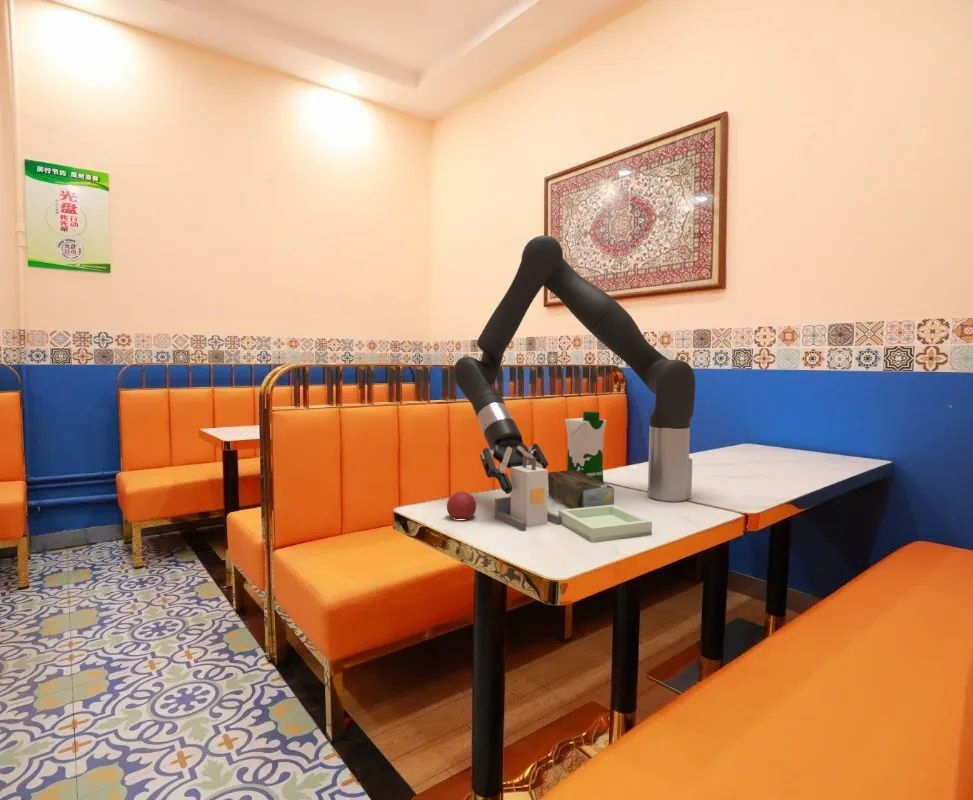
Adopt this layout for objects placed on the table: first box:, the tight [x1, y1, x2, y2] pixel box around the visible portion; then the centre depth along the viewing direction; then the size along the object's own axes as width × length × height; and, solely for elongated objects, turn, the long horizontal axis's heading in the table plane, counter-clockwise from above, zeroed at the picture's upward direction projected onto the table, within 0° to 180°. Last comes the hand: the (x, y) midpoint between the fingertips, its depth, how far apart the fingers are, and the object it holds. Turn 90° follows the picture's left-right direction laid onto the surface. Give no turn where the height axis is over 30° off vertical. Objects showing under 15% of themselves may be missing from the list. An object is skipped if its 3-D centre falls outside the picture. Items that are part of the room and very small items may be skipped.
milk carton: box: [564, 411, 608, 483], centre depth 139 cm, size 9×9×20 cm
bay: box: [494, 495, 561, 532], centre depth 110 cm, size 9×10×4 cm
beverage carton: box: [548, 470, 615, 509], centre depth 123 cm, size 8×19×7 cm, turn 17°
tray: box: [557, 504, 653, 543], centre depth 105 cm, size 13×13×2 cm
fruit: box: [446, 491, 477, 520], centre depth 111 cm, size 6×6×8 cm
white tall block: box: [510, 455, 549, 528], centre depth 109 cm, size 5×6×13 cm
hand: (527, 489), depth 109 cm, fingers open, 8 cm apart
